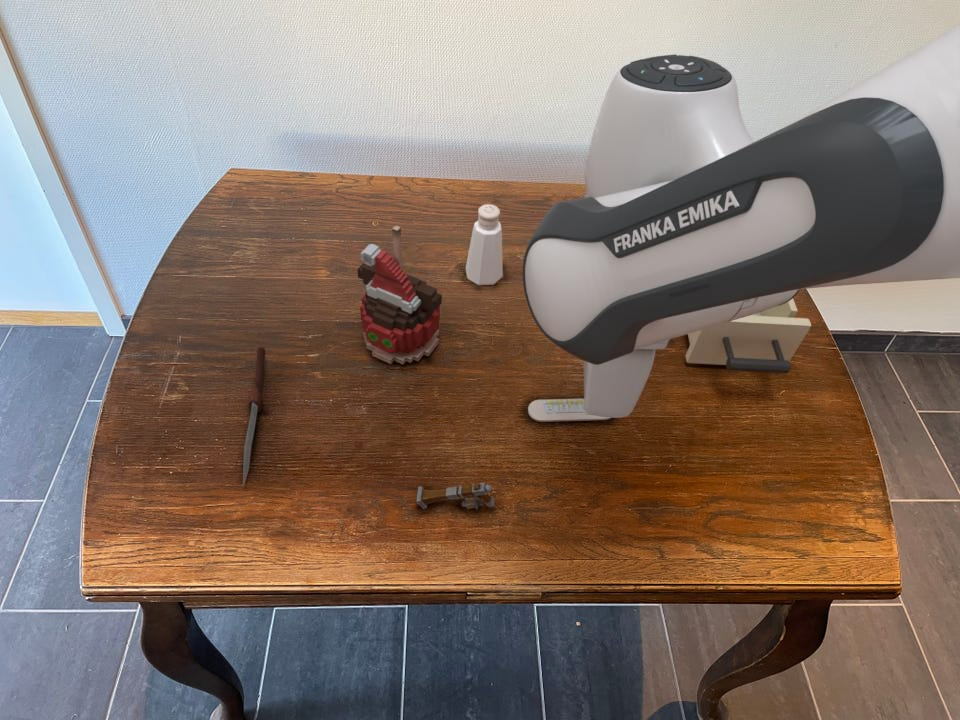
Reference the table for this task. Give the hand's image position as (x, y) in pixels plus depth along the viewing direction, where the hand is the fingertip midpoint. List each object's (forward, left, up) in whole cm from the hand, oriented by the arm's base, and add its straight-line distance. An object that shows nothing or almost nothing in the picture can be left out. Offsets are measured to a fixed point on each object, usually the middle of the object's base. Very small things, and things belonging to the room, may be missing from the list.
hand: (592, 364), depth 66 cm
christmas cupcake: (+14, +22, -16) cm, 30 cm away
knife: (-1, +36, -16) cm, 39 cm away
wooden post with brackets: (-8, +12, -16) cm, 21 cm away
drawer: (+20, -20, -15) cm, 32 cm away
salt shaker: (+28, +13, -16) cm, 35 cm away
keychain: (+6, 0, -16) cm, 17 cm away
